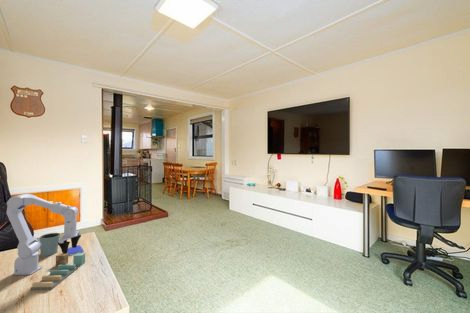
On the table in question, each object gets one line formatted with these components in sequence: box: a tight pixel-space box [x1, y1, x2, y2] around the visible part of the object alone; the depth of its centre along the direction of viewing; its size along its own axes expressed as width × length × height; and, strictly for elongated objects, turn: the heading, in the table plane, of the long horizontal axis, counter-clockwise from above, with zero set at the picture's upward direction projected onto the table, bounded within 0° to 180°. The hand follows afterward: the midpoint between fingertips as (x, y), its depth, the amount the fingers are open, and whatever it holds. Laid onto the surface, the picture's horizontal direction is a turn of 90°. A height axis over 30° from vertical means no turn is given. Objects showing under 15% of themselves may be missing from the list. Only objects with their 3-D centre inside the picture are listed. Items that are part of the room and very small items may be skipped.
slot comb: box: [30, 263, 78, 291], centre depth 112 cm, size 10×18×3 cm, turn 4°
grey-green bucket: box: [39, 232, 61, 257], centre depth 140 cm, size 10×10×12 cm
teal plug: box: [72, 252, 86, 266], centre depth 127 cm, size 5×3×6 cm, turn 94°
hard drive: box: [67, 244, 85, 257], centre depth 144 cm, size 2×8×12 cm
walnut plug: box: [55, 252, 69, 267], centre depth 126 cm, size 5×3×6 cm, turn 94°
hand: (69, 250), depth 124 cm, fingers open, 7 cm apart
